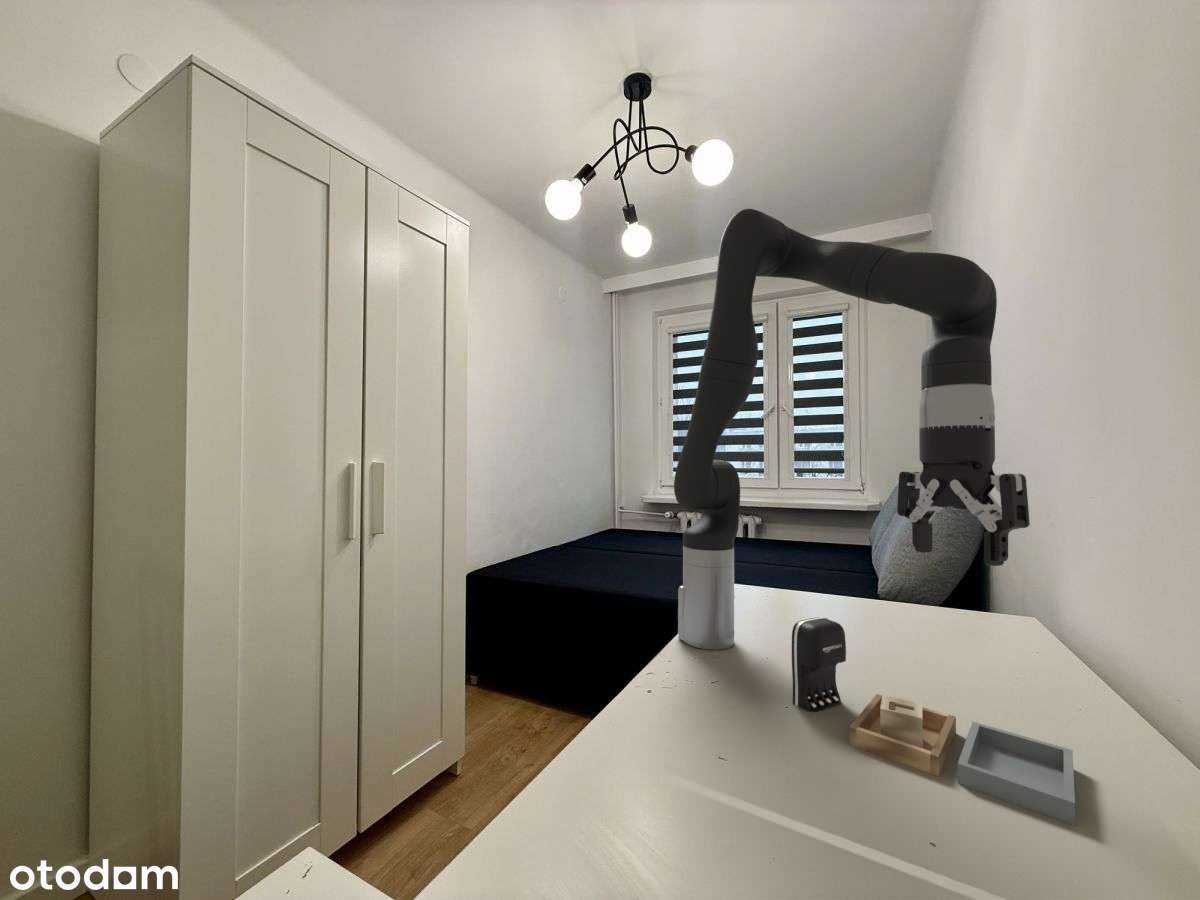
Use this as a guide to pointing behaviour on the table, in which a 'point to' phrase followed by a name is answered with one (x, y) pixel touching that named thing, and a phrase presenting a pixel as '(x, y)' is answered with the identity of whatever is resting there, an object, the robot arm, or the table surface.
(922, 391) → the robot arm
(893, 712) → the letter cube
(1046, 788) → the slate tray
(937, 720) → the oak tray
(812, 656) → the black battery charger
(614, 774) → the table surface
